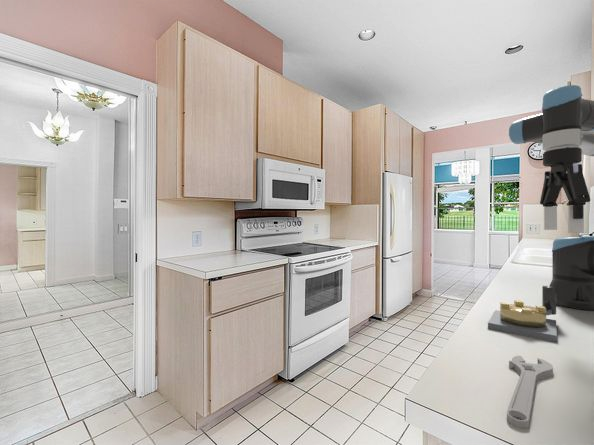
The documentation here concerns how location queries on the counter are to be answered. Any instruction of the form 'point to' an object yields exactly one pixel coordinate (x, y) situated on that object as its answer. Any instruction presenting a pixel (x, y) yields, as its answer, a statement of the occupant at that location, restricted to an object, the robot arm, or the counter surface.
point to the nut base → (524, 328)
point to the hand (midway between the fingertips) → (562, 231)
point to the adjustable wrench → (525, 389)
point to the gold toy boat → (530, 310)
